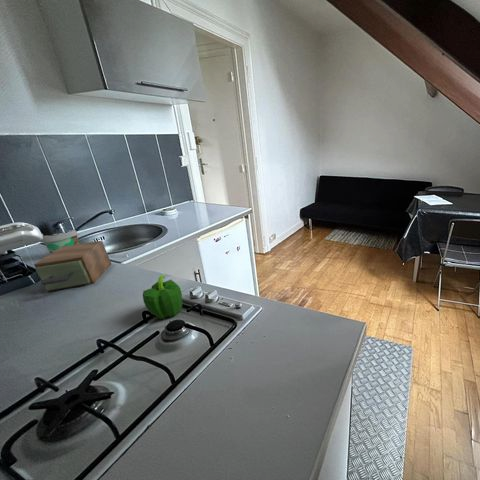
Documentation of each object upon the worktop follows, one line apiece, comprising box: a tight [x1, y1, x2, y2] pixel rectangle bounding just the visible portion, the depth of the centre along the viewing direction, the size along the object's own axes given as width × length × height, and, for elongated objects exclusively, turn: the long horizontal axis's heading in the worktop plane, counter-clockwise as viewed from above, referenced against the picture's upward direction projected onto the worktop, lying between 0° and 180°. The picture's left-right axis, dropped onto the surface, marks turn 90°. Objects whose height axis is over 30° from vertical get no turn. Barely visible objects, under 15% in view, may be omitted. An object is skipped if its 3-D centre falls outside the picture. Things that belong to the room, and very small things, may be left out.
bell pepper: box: [142, 274, 183, 320], centre depth 66 cm, size 8×8×10 cm
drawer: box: [35, 260, 90, 291], centre depth 84 cm, size 18×11×8 cm, turn 18°
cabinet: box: [33, 240, 112, 292], centre depth 88 cm, size 15×12×10 cm
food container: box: [39, 229, 80, 254], centre depth 105 cm, size 12×6×10 cm, turn 105°
